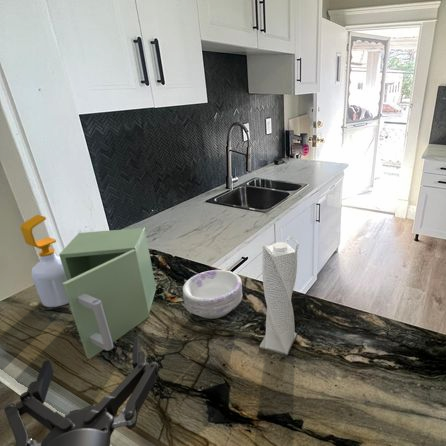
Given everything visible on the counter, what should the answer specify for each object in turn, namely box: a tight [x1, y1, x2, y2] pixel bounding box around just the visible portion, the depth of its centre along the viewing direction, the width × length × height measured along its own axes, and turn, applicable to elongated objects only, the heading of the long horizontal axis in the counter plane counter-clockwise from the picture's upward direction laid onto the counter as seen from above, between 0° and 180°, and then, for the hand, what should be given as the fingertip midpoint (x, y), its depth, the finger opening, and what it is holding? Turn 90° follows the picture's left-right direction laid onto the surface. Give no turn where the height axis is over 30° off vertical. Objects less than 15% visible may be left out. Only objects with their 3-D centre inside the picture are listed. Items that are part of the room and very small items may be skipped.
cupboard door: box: [62, 250, 150, 360], centre depth 71 cm, size 7×16×20 cm, turn 154°
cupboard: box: [58, 227, 157, 313], centre depth 83 cm, size 12×16×20 cm
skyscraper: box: [258, 236, 300, 356], centre depth 69 cm, size 8×8×28 cm
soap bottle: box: [20, 214, 69, 308], centre depth 84 cm, size 9×9×25 cm
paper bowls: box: [182, 269, 243, 320], centre depth 85 cm, size 15×15×8 cm
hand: (95, 354), depth 56 cm, fingers open, 13 cm apart
